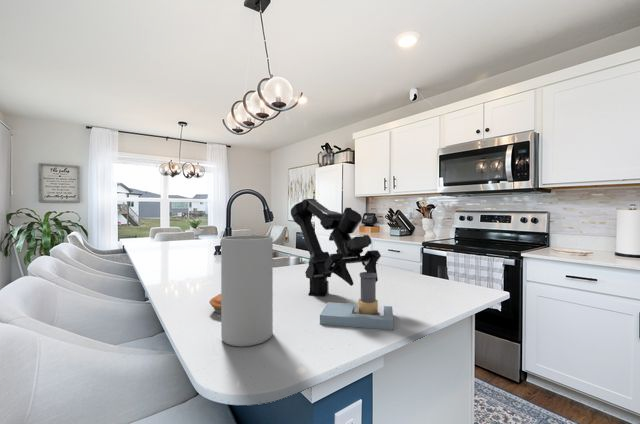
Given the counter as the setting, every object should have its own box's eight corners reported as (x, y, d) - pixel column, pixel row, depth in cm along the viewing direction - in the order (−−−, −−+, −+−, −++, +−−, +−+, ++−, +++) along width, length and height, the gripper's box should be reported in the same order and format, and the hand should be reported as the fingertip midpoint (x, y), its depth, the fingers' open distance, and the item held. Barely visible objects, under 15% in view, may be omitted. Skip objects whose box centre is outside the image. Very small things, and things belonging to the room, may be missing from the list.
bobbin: (352, 318, 88) (352, 274, 88) (363, 311, 93) (363, 270, 93) (373, 323, 84) (373, 277, 84) (383, 316, 89) (383, 273, 89)
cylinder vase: (224, 352, 67) (224, 240, 67) (219, 331, 78) (219, 236, 78) (278, 342, 72) (278, 238, 72) (266, 324, 83) (266, 234, 83)
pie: (198, 315, 91) (198, 298, 91) (230, 300, 106) (230, 286, 106) (240, 322, 85) (240, 304, 85) (268, 306, 100) (268, 291, 100)
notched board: (319, 323, 84) (319, 315, 84) (327, 310, 95) (327, 302, 95) (393, 329, 79) (393, 320, 79) (392, 314, 91) (392, 306, 91)
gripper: (329, 227, 90) (350, 270, 80) (377, 225, 99) (401, 264, 90) (316, 250, 97) (334, 292, 87) (362, 246, 106) (383, 284, 96)
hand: (364, 283), depth 90 cm, fingers open, 9 cm apart
